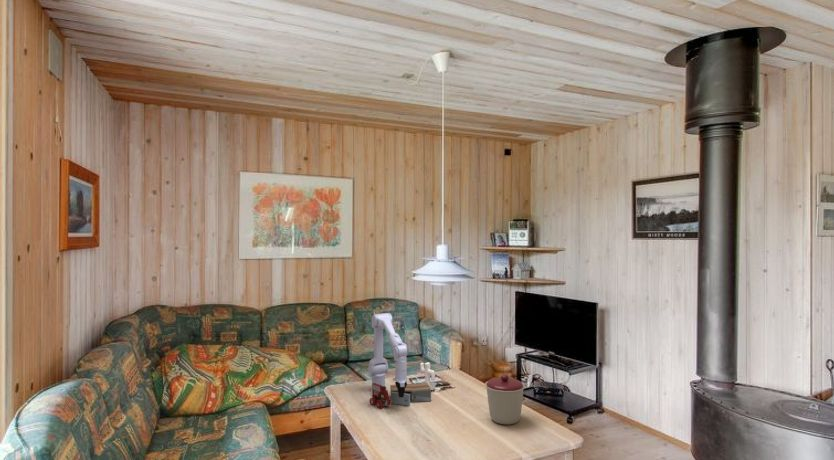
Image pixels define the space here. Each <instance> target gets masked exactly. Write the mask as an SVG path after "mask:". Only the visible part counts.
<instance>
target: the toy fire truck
mask: <svg viewBox="0 0 834 460" xmlns="http://www.w3.org/2000/svg"><path fill="white" fill-rule="evenodd" d="M371 388H372V394H371V397H370V398H369V405H370V406H371V407H376V408H377V409H378V410H380V409H381V410H382V408H383V406H385V407H389V406H391V404H392V401H391V397H390V395H389V392H388V390H387V387H386V385H385V386H382V385H379V384H376V383H373V384H372V383H371Z"/></svg>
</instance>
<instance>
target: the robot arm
mask: <svg viewBox="0 0 834 460" xmlns="http://www.w3.org/2000/svg"><path fill="white" fill-rule="evenodd" d="M371 328H372V329H373V358H371V359H370V360H369V362H368V367H367V368H368V374H369V375H370V377H371V385H372V384H373V383H376V384H379V385H382V386H385V387H386V376H387V374H388V372H389V365H388V360H387V359H386V358H385V357H384V330H385V332H386V333H387V335H388V341H389V343H390V346H391V348H392V353H393V354H392V355H393V360H394V377H393V378H392V381H394V382H395V383H394V385H396V386H397V389H398V395H399V398H400V397H404V392H405V388H406V386H407V384H408V383H407V381H408V377H407V376H408V375H407V372H408V371H407V369H408V368H407V365H408V364H407V360H408V359H407V356H409V353H410V351H409V346H408V344H406V343H405V342H403V341H402V339H401V336H400V334H398V333H396V331H395V328H394V325H393V316H392V314H391V312H385V313H378V314H377V313H375V314H373V315H372V316H371ZM370 394H371V395H372V387H370Z"/></svg>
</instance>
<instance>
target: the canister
mask: <svg viewBox="0 0 834 460" xmlns="http://www.w3.org/2000/svg"><path fill="white" fill-rule="evenodd" d="M484 386H485V388H486V395H487V404H488V409H489V410H488V411H489V415H490V418H491V420H492V421H493V422H494V423H496V424H500V425H505V426H508V425H514V424H516V423H518V422H519V421H520V418H521V415H522V407H523V399H524V398H523V396H524V390H525V388H526V384H525V383H523V382H522V381H520V380H519V379H516V378H513V377H509V375H508V374H506V373H504V374H501V375H500V376H499V377H493V378H490V379H489V380H487V381H486V382H485V383H484Z"/></svg>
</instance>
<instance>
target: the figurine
mask: <svg viewBox="0 0 834 460" xmlns="http://www.w3.org/2000/svg"><path fill="white" fill-rule="evenodd" d="M419 365H420V366H419V370H420V373H421V374H424V381H422V382H421V383H428V385H429V387H430V390H432V391H433V390H434V389H435V387H436V386H437V384H438V383H437V382H434V381H435V380H436V372H435V370H433V369H431V362H429V361H428V362H427V361H426V362H425V363H424V362H420V364H419Z"/></svg>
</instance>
